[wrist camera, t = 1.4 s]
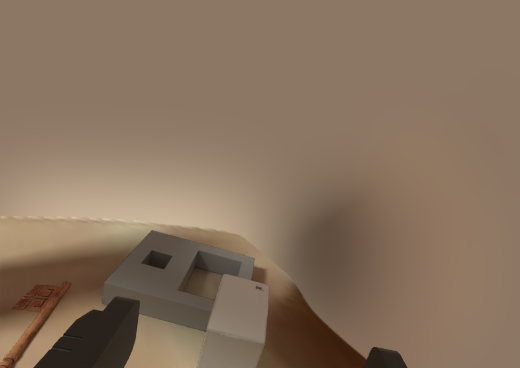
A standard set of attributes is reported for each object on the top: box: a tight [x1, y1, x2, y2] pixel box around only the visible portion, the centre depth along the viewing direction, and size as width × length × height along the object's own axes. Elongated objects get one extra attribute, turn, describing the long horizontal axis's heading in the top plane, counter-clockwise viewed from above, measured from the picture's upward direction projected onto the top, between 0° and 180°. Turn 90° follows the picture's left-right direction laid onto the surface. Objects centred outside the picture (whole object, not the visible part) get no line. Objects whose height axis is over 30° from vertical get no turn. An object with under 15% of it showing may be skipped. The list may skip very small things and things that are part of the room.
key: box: [0, 281, 71, 368], centre depth 26 cm, size 6×1×15 cm
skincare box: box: [197, 274, 269, 368], centre depth 24 cm, size 6×4×12 cm
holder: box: [102, 230, 255, 331], centre depth 37 cm, size 16×12×3 cm
